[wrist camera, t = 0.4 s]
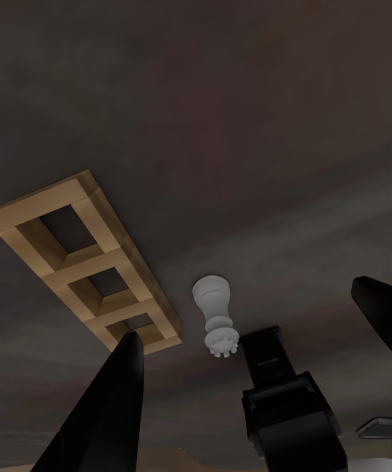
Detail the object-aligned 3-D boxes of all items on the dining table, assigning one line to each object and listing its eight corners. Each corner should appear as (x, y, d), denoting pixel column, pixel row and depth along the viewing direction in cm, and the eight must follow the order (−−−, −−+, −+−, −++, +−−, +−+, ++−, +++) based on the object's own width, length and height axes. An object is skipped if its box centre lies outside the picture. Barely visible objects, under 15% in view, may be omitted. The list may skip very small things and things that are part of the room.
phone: (402, 439, 57) (357, 439, 53) (399, 433, 58) (354, 433, 54) (425, 424, 53) (379, 423, 50) (421, 419, 54) (375, 417, 51)
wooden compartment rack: (181, 322, 29) (182, 343, 26) (125, 341, 30) (121, 362, 27) (89, 168, 19) (75, 177, 16) (6, 202, 19) (-20, 216, 17)
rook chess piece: (193, 303, 28) (201, 366, 21) (190, 275, 25) (197, 336, 18) (228, 298, 28) (247, 359, 21) (228, 270, 26) (249, 328, 19)
